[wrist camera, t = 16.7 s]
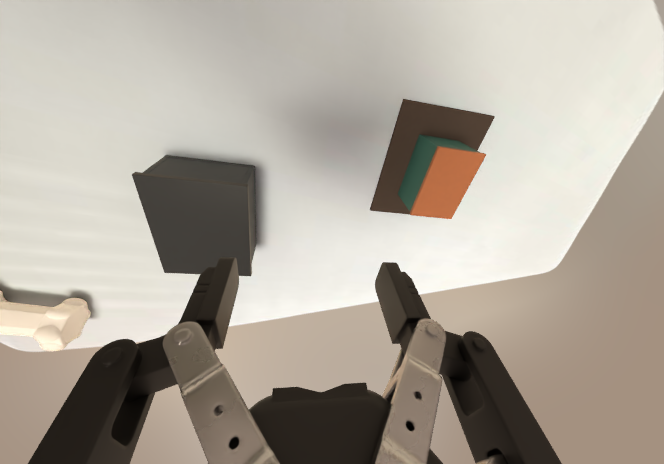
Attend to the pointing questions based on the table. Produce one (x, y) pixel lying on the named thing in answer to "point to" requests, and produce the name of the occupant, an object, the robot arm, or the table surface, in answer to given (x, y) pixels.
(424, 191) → the orange and teal box
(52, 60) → the table surface
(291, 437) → the robot arm
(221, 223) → the bottom box
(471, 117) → the mat
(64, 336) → the white bone
